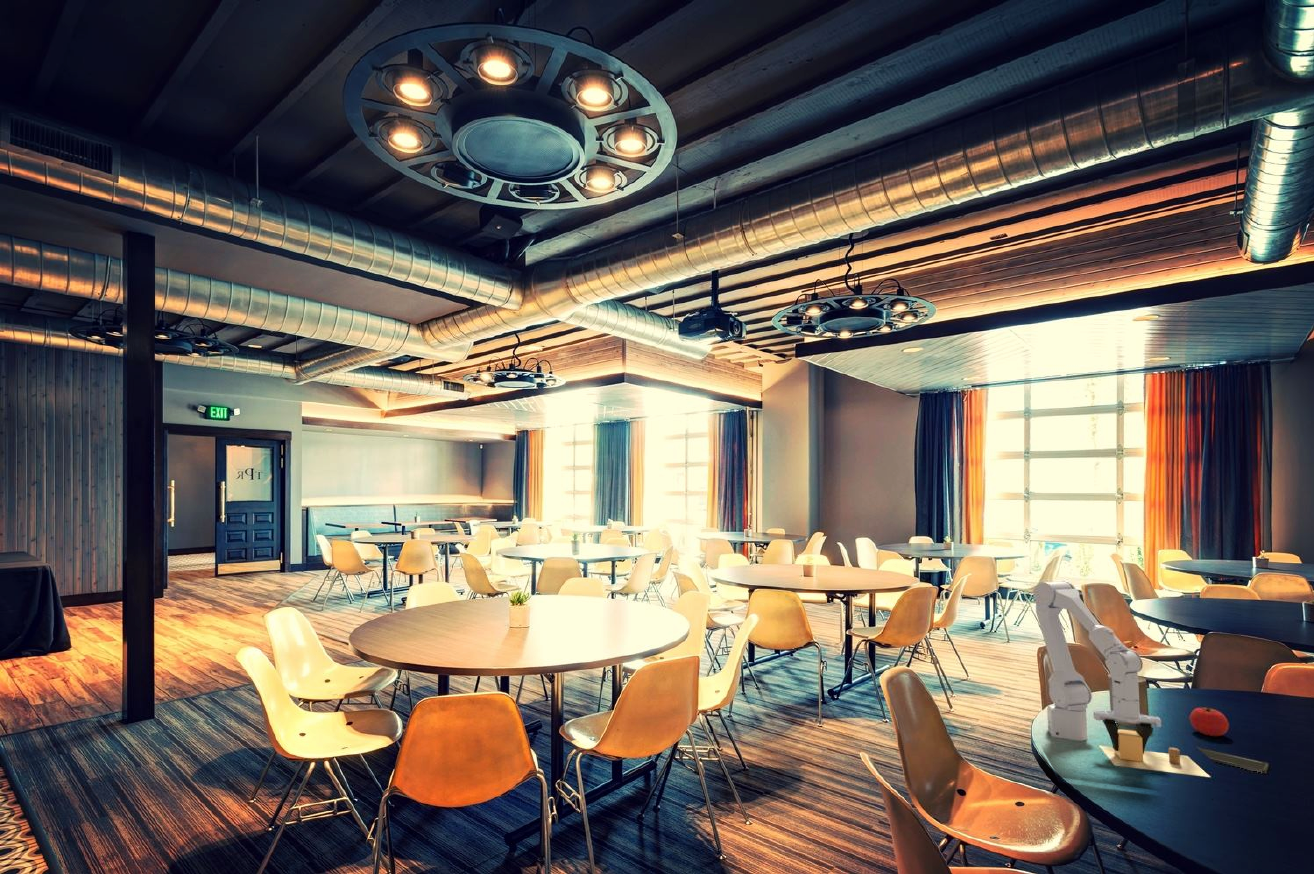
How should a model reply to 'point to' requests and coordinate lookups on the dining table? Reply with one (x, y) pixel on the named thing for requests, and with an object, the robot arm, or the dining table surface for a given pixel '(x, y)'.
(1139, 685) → the pillar candle
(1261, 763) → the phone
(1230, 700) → the dining table surface
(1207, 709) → the tomato
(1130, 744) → the tan foam cube
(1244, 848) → the dining table surface
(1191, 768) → the board
